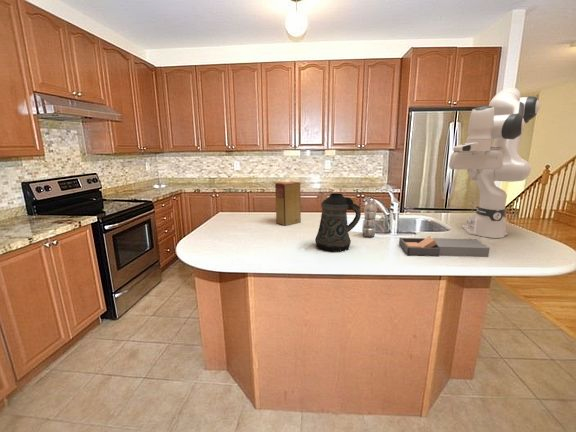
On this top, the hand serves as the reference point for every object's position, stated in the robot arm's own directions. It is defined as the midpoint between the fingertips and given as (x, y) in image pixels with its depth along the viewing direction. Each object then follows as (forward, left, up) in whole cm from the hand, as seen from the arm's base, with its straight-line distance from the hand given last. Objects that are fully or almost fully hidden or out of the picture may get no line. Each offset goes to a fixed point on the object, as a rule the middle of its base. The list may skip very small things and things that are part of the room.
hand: (473, 180), depth 127 cm
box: (+4, -21, -31) cm, 38 cm away
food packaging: (-41, -85, -31) cm, 99 cm away
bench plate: (+4, -5, -31) cm, 32 cm away
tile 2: (+4, -17, -29) cm, 34 cm away
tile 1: (+4, -24, -28) cm, 37 cm away
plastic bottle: (-16, -40, -31) cm, 53 cm away
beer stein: (+1, -58, -31) cm, 66 cm away
